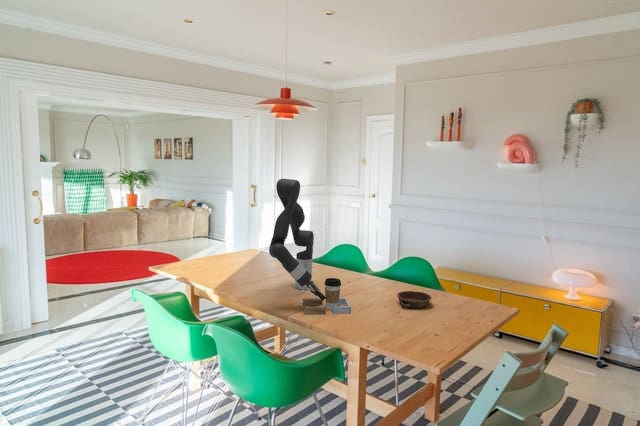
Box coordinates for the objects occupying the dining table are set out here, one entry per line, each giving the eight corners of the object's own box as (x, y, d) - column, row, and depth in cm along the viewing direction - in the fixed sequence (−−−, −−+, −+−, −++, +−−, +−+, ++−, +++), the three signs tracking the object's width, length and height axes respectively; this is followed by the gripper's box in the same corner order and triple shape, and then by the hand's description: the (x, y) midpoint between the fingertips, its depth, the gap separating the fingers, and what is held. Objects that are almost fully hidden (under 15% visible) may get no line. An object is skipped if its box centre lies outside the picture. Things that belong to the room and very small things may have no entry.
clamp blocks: (302, 302, 226) (302, 298, 226) (321, 302, 227) (322, 298, 227) (304, 314, 209) (304, 309, 209) (325, 314, 210) (325, 309, 210)
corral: (330, 303, 226) (330, 298, 225) (346, 303, 227) (346, 298, 226) (333, 313, 212) (333, 307, 212) (350, 313, 213) (351, 307, 212)
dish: (387, 305, 227) (388, 296, 226) (410, 296, 243) (410, 287, 242) (417, 314, 215) (418, 304, 215) (439, 304, 231) (439, 295, 231)
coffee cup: (327, 312, 213) (328, 281, 211) (321, 306, 221) (322, 277, 219) (342, 310, 216) (344, 280, 214) (336, 305, 224) (337, 276, 222)
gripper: (306, 272, 208) (331, 298, 211) (305, 266, 222) (328, 290, 224) (295, 283, 209) (319, 308, 211) (294, 276, 222) (317, 300, 224)
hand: (324, 299), depth 218 cm, fingers closed
